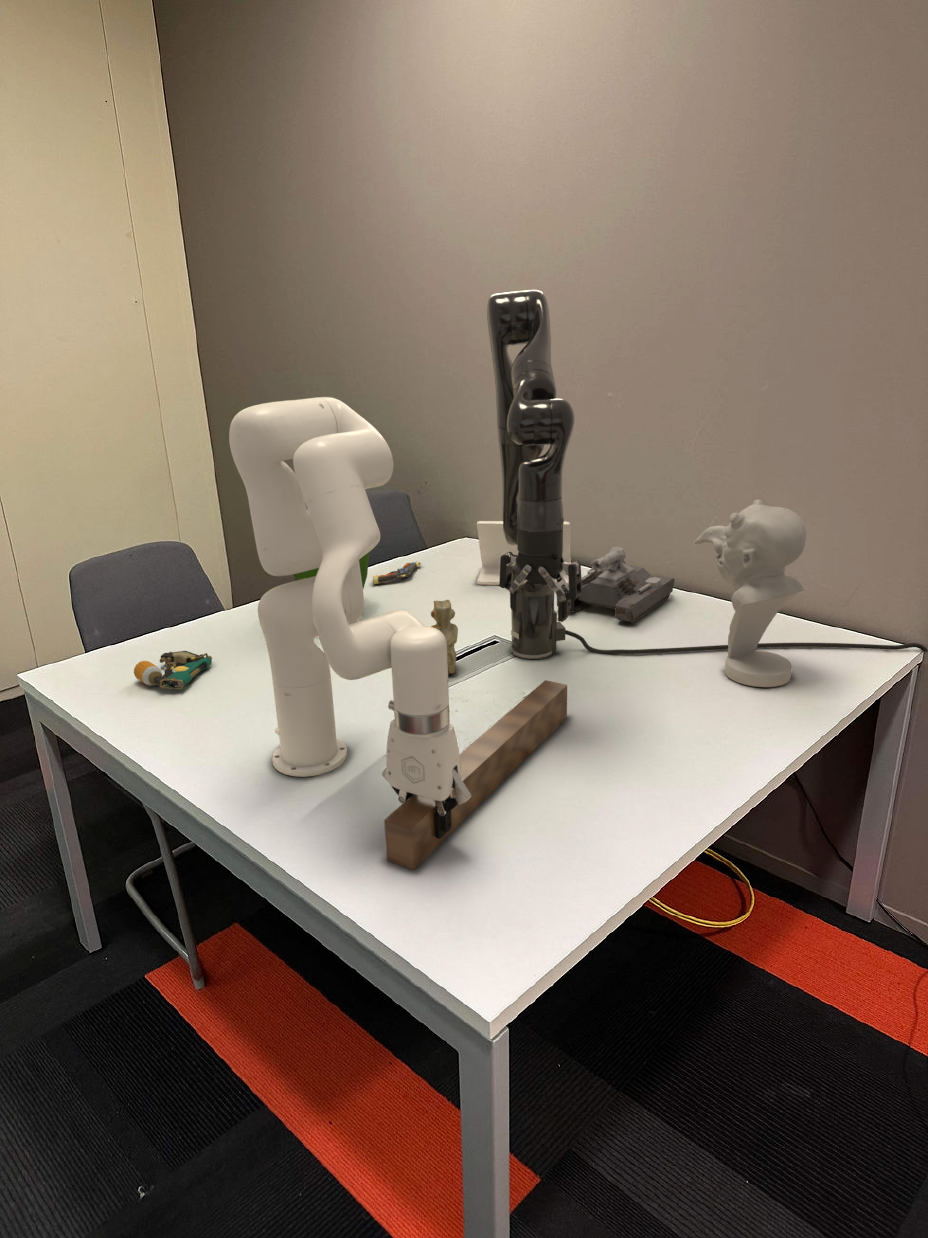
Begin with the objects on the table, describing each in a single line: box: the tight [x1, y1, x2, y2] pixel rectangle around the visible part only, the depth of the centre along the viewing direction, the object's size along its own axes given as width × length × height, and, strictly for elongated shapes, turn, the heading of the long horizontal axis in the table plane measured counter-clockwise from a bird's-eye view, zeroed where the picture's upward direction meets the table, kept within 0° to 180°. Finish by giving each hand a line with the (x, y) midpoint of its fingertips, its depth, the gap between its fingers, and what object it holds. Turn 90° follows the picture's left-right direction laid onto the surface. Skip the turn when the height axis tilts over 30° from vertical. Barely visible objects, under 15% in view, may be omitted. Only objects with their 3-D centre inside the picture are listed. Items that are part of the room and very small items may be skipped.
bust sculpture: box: [693, 499, 807, 688], centre depth 171 cm, size 16×24×35 cm, turn 28°
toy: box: [556, 546, 676, 624], centre depth 212 cm, size 25×20×15 cm
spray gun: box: [133, 650, 213, 690], centre depth 180 cm, size 4×17×15 cm
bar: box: [383, 679, 568, 871], centre depth 138 cm, size 51×4×7 cm, turn 149°
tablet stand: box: [476, 520, 572, 586], centre depth 236 cm, size 18×25×17 cm
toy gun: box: [372, 561, 422, 585], centre depth 242 cm, size 3×19×10 cm
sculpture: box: [430, 599, 459, 675], centre depth 177 cm, size 6×7×15 cm
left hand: (427, 827), depth 123 cm, fingers closed on bar, 4 cm apart
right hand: (539, 616), depth 146 cm, fingers open, 8 cm apart
